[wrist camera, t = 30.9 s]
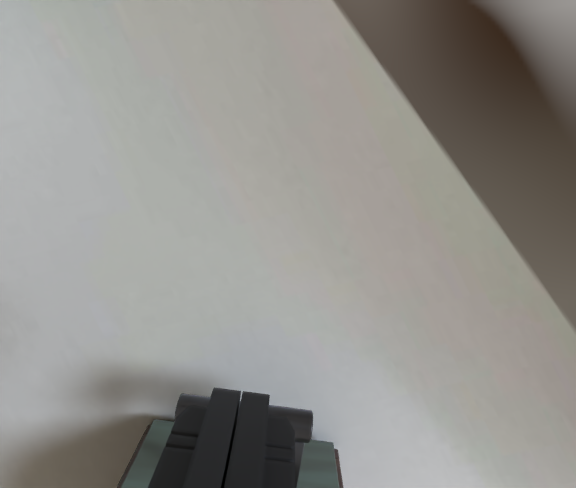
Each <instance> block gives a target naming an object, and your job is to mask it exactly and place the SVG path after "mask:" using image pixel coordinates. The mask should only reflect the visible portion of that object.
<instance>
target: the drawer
mask: <svg viewBox="0 0 576 488" xmlns="http://www.w3.org/2000/svg"><path fill="white" fill-rule="evenodd" d="M210 398H211V397H205V396H198V395H190V394H181V395H180V397H179V400H178V403H177V407H176V412H175V420H176V418H177V416H178V415H179V414H180V413H181V412H183V411H184V410H185V409H186V408H187V407H188V406H189V405H197V406H204V407H208V404H209V401H210ZM240 404H241V401H240V403H239V409H240ZM238 414H239V411H238ZM268 415H274V416H281V417H287V418H288V420H289V422H290V424H291V425H292V427H293V429H294V431H295V488H339V482H338V474H337V467H336V460H335V453H334V445H333V443H332V442H324V441H317V440H311V435H312V427H313V412H312V411H311V410H303V409H296V408H288V407H281V406H273V405H269V408H268ZM237 419H238V418H237ZM175 420H174V422H172V421H164V420H156V419H155V420H154V421H153V423H152V425H151V427H150V429H149V431H148V433H147V435H146V437H145V439H144V441H143V443H142V445H141V447H140V449H139V451H138V454H137V456H136V458H135V460H134V462H133V464H132V466H131V468H130V470H129V472H128V474H127V476H126V478H125V480H124V482H123V484H122V486H121V488H148V486H149V483H150V481H151V478H152V476H153V474H154V471H155V469H156V466H157V464H158V461H159V459H160V457H161V454H162V452H163V449H164V447H165V446H166V442H167V440H168V437H169V435H170V434H171V430H172V427H173V425H174V423H175Z"/></svg>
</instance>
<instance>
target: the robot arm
mask: <svg viewBox="0 0 576 488" xmlns="http://www.w3.org/2000/svg"><path fill="white" fill-rule="evenodd" d="M240 395H241V391H236V390H228V389H221V388H214V389H213V391H212V395H211V398H210V401H209V404H208V407H204V406H197V405H189V406H188V407H187V408H186V409H185V410H184V411H183V412H181V413H180V414H179V415H178V416H177V418H176V420H175V423H174V425H173V427H172V430H171V434H170V435H169V437H168V440H167V442H166V446H165V447H164V449H163V452H162V454H161V457H160V459H159V461H158V464H157V466H156V469H155V471H154V474H153V476H152V478H151V481H150V483H149V486H148V488H295V431H294V429H293V427H292V425H291V424H290V422H289V420H288V418H287V417H281V416H274V415H268V408H269V396H270V395H267V394H259V393H252V392H244V391H243V394H242V399H241V404H240V409H239V403H240ZM238 411H239V414H238ZM237 418H238V419H237Z"/></svg>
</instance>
